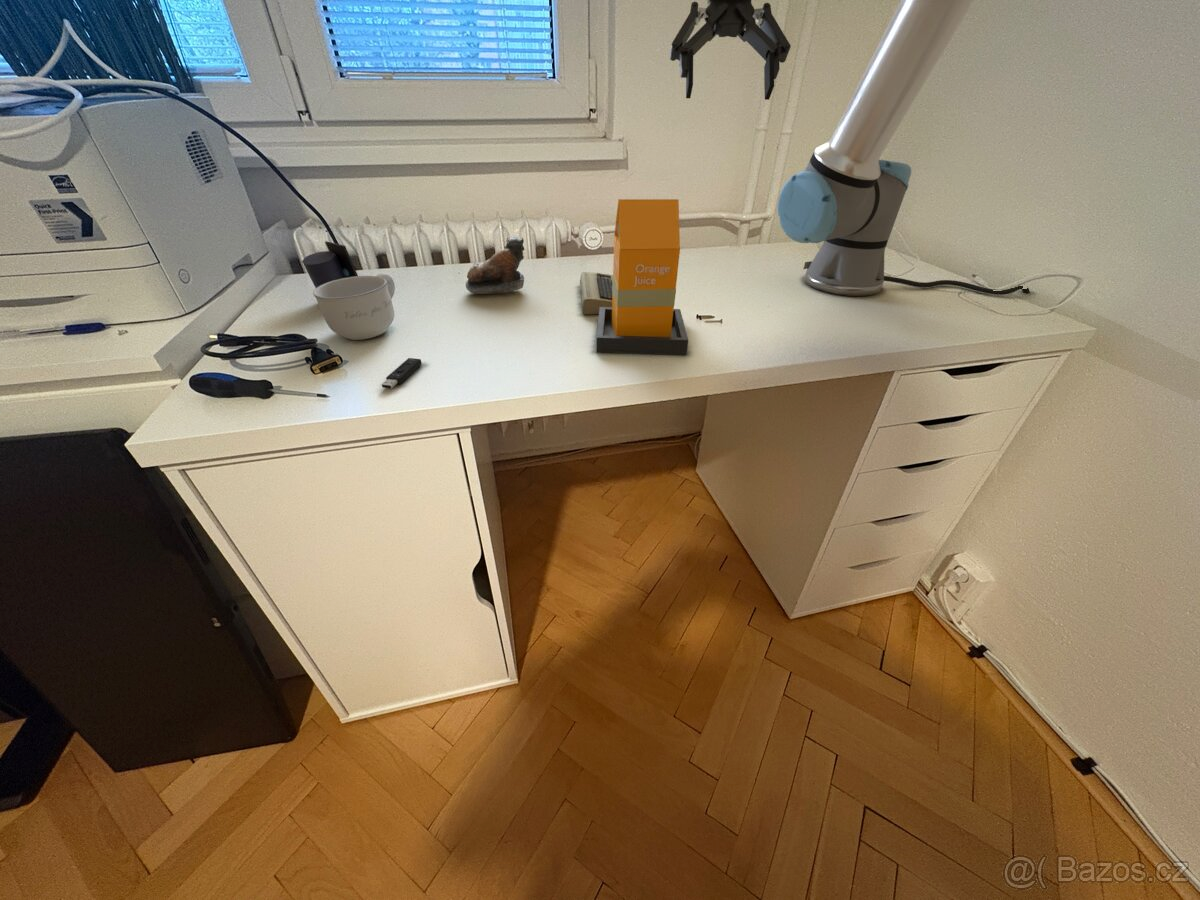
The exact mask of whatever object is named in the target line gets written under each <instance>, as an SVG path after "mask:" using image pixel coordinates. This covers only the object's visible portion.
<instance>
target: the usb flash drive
mask: <svg viewBox="0 0 1200 900" xmlns="http://www.w3.org/2000/svg"><path fill="white" fill-rule="evenodd" d="M422 365H423V363H422V359H421V358H413V357H412V358H411V357H408V358H406V360H405V361H403V362H402V363H401V364H400V365H399V366H398V367H396V369H394V370H393V371H392V372H391V373H389V374H388V375H387V376H386V377H385V380H384V381H383V382H382V383H381V387H382V388H384V389H393V388H394V387H395V386H396V385H401V384H402V383H404V381H406V380H407V378H409V377H411V375H412V374H413V373H414V372H415V371H417V369H418V368H419V367H420V366H422Z"/></svg>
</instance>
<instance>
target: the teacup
mask: <svg viewBox="0 0 1200 900" xmlns="http://www.w3.org/2000/svg"><path fill="white" fill-rule="evenodd" d="M395 292H396V284H395V281H394V280H393V278H392V277H391V275H389V274H388V273H379V274H377V275H358V276H354V277H349V278H342V279H338V280H334V281H331V282H328V283H325V284H323V285H320V286H319V287H317V288H314V290H312V295H313V296H314V298H315V299H316V301H317V302H316V303H317V305H318V307H319V309H320V312H321V314H322V316H323V318H324V321H325V323H326V325H327V326H328V328H329V329H330V330H331V331H332V332H333V333H335V334H337V335H339V336H342V337H343V338H344V339H345V338H346V339H347V340H352V341H353V340H354V341H357V340H358V341H359V340H361V341H362V340H368V339H372V338H376V337H378V336H381V335H382V334H384V333H386V332H387V330H388V329H389V327H390V326H391V325H392V323H393V322H394V319H395V310H394V304H393V300H392V299H393V297H394V295H395Z"/></svg>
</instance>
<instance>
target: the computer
mask: <svg viewBox="0 0 1200 900" xmlns="http://www.w3.org/2000/svg"><path fill="white" fill-rule="evenodd" d="M612 283H613V274H609V273H602V272H594V271H583V272H581V273H580V277H579V288H580V289H579V290H580V301H581V313H582V314H583V315H599V309H600V307H612V293H613V291H612Z"/></svg>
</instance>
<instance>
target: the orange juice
mask: <svg viewBox="0 0 1200 900" xmlns="http://www.w3.org/2000/svg"><path fill="white" fill-rule="evenodd" d="M679 200H680V199H678V198H676V199H672V198H671V199H669V198H668V199H667V198H658V199H657V198H650V199H648V198H641V199H639V198H637V199H635V198H634V199H633V198H632V199H631V198H629V199H628V198H627V199H626V198H625V199H622V198H621V199H618V200H617V209H616V217H615V226H614V236H613V260H612V263H613V264H612V275H613V283H612V291H613V293H612V329H613V333H614V336H646V337H671V328H672V319H673V310H674V309H675V302H676V295H677V280H678V274H679V273H678V272H679V263H680V253H681V241H680V240H681V239H680V238H681V237H680V235H681V234H680V207H679V206H680V203H679V202H680V201H679Z"/></svg>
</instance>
